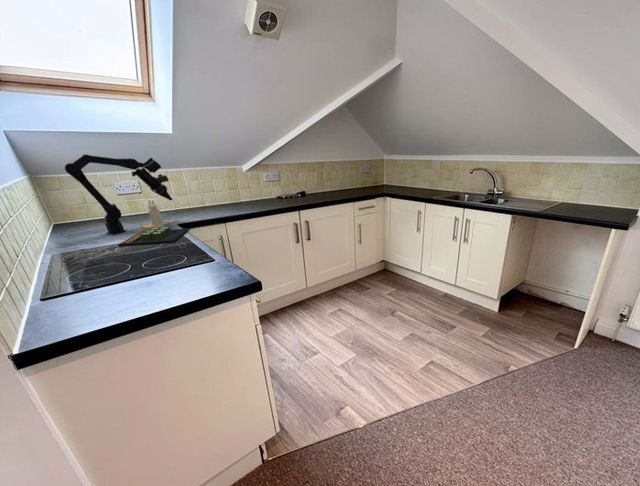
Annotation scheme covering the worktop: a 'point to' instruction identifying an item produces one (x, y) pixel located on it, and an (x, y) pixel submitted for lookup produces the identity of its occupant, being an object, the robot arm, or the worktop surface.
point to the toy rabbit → (155, 215)
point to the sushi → (155, 236)
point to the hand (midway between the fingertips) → (170, 199)
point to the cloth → (150, 225)
